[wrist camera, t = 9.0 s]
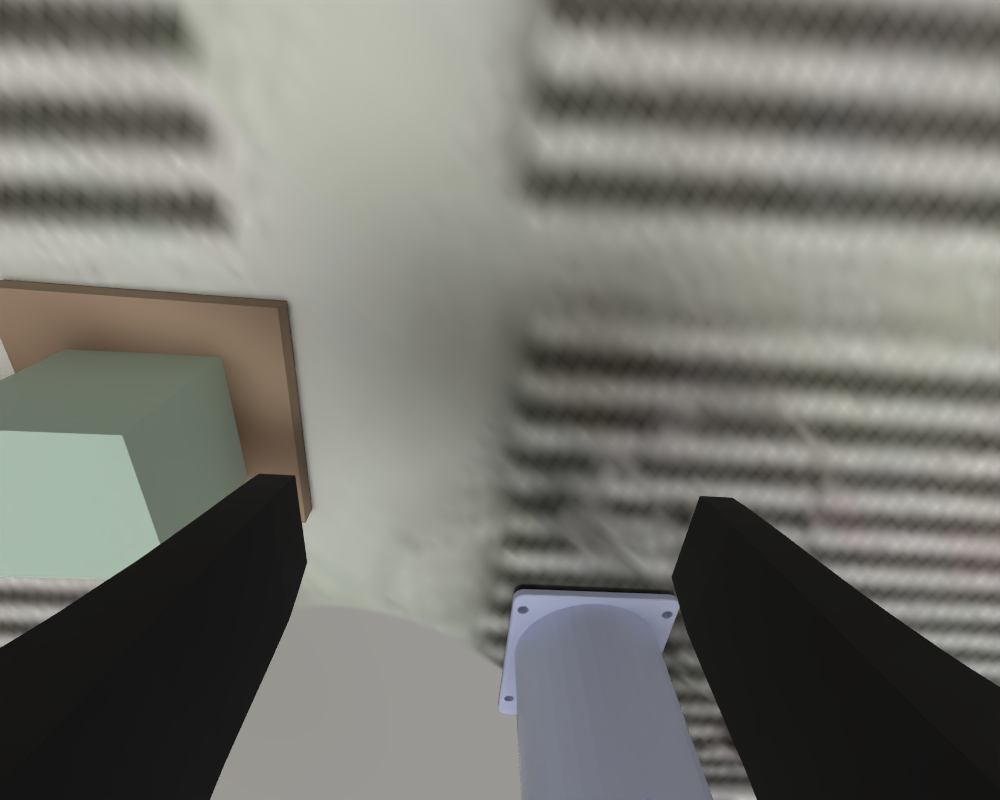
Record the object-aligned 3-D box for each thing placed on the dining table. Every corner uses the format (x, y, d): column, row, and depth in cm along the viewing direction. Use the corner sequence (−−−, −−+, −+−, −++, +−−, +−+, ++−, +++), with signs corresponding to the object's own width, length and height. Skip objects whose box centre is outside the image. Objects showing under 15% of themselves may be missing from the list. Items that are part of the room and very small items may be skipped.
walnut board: (311, 509, 20) (305, 522, 20) (87, 498, 20) (72, 512, 19) (286, 301, 16) (277, 308, 15) (2, 280, 16) (-22, 286, 15)
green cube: (247, 477, 18) (172, 580, 14) (112, 472, 18) (-8, 576, 14) (221, 356, 16) (122, 435, 12) (65, 349, 16) (-97, 426, 11)
